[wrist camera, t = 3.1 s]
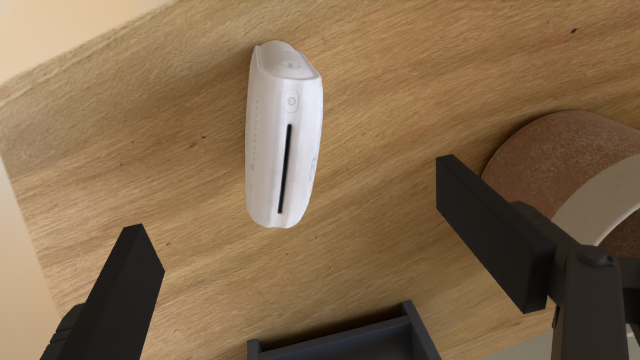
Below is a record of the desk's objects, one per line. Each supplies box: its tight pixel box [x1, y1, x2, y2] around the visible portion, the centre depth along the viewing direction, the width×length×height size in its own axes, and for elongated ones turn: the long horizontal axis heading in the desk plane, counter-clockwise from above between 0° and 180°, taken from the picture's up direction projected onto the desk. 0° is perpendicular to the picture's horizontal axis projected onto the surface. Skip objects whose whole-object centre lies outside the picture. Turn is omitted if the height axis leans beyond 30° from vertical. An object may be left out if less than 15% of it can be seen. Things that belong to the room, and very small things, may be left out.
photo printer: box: [245, 40, 323, 229], centre depth 26 cm, size 10×4×12 cm, turn 172°
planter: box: [481, 110, 640, 337], centre depth 34 cm, size 16×16×14 cm
